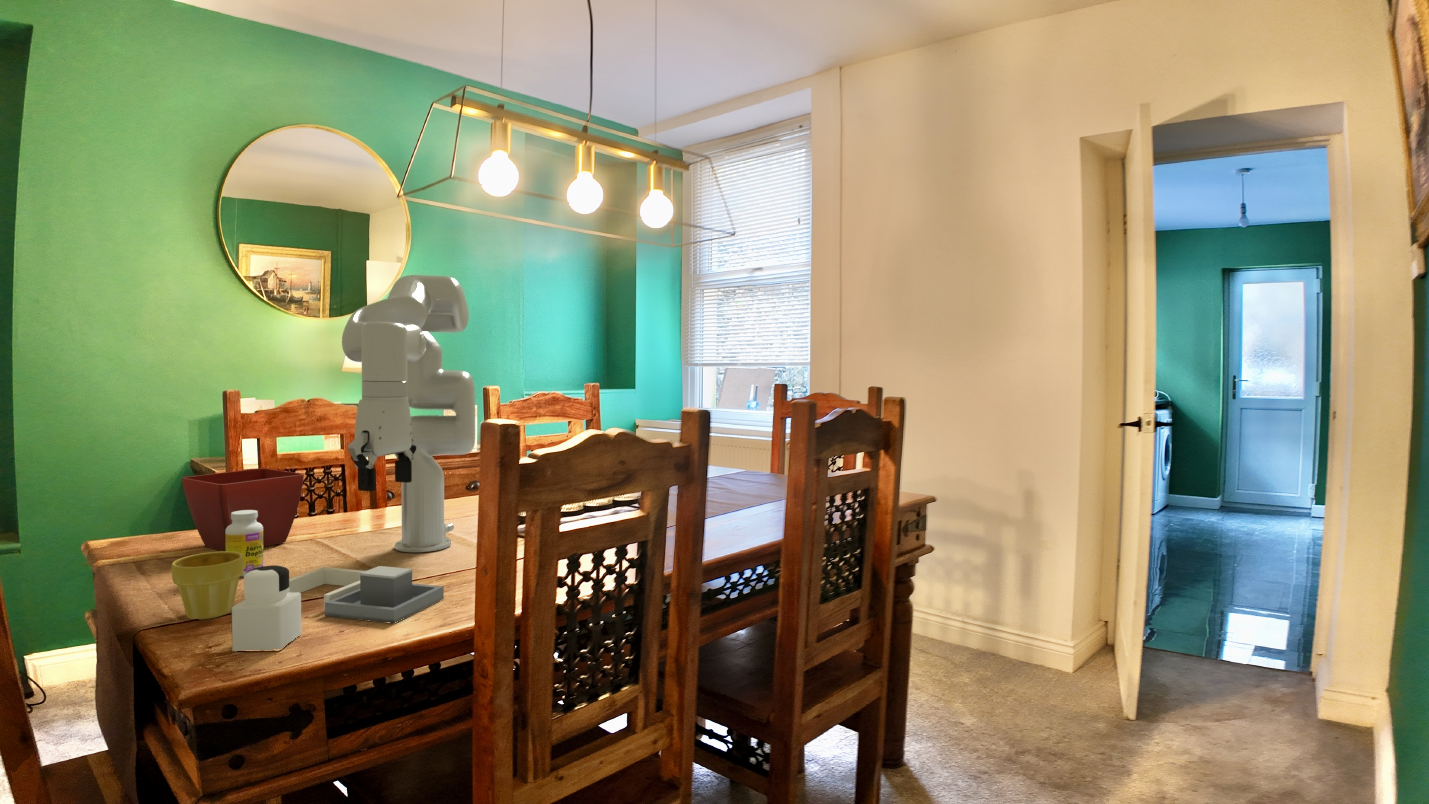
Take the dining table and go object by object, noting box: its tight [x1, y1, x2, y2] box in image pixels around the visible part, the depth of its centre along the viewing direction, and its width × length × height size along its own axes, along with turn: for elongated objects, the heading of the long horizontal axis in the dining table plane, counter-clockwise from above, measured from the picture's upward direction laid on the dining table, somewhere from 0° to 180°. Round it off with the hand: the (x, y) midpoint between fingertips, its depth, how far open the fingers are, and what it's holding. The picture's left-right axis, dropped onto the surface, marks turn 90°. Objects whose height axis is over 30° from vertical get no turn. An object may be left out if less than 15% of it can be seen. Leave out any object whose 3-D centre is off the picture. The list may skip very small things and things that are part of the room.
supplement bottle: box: [225, 510, 264, 578], centre depth 154 cm, size 7×7×13 cm
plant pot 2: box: [171, 550, 244, 621], centre depth 129 cm, size 10×10×10 cm
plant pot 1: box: [181, 467, 305, 551], centre depth 177 cm, size 19×19×17 cm
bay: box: [288, 566, 366, 612], centre depth 140 cm, size 15×14×3 cm
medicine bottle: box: [230, 564, 302, 652], centre depth 116 cm, size 7×7×12 cm
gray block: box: [360, 565, 413, 608], centre depth 134 cm, size 5×7×6 cm
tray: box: [324, 582, 445, 624], centre depth 134 cm, size 14×14×2 cm
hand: (385, 486), depth 133 cm, fingers open, 9 cm apart
